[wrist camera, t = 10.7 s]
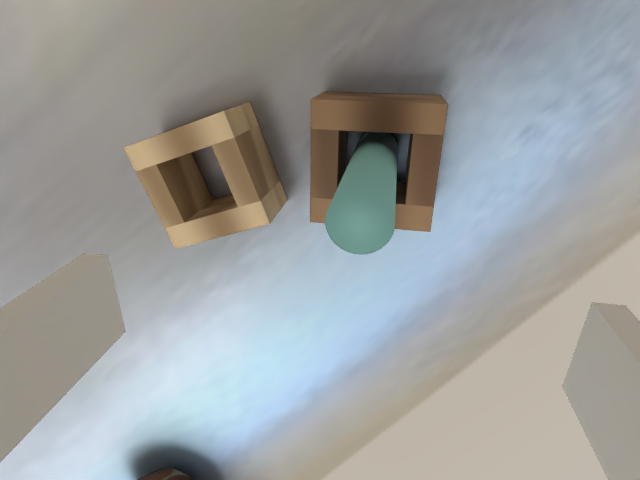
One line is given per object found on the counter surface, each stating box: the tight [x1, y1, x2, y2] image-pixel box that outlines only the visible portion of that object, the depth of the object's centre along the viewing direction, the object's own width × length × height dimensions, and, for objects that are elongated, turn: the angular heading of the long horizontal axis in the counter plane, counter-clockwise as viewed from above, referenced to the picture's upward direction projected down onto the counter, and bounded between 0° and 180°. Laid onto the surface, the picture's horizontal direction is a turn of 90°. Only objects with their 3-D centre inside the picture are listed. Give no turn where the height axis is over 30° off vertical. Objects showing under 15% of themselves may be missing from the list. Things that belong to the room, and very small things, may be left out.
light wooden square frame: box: [124, 102, 287, 249], centre depth 31 cm, size 8×8×5 cm
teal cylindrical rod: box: [325, 132, 398, 254], centre depth 24 cm, size 3×3×14 cm
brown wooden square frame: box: [310, 92, 448, 232], centre depth 28 cm, size 8×8×5 cm
